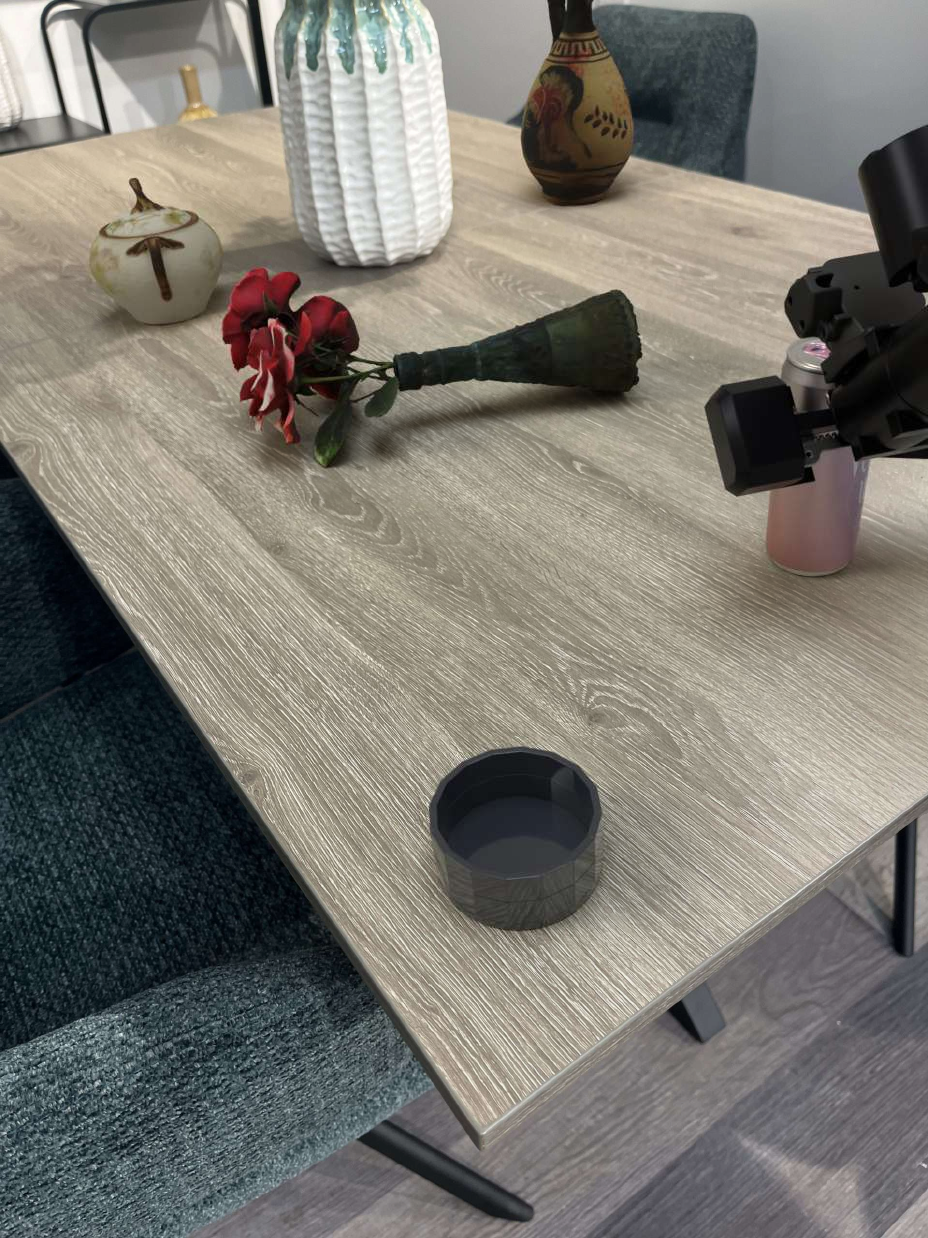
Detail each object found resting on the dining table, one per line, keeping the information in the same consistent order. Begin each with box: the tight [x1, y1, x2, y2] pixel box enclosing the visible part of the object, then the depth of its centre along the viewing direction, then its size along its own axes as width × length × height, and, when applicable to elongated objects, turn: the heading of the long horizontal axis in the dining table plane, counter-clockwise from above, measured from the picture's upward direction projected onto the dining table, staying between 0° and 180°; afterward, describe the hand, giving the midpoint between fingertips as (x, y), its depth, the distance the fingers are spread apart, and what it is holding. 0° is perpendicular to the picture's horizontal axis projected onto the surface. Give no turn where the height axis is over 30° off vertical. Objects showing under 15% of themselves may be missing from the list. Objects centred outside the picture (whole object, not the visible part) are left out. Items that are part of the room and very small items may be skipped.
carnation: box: [221, 267, 644, 468], centre depth 90 cm, size 16×18×35 cm
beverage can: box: [764, 337, 871, 577], centre depth 66 cm, size 6×6×15 cm
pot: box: [428, 745, 604, 931], centre depth 51 cm, size 8×8×4 cm
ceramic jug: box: [520, 0, 635, 206], centre depth 134 cm, size 17×15×30 cm
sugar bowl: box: [88, 177, 224, 325], centre depth 115 cm, size 20×15×15 cm
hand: (809, 456), depth 67 cm, fingers closed on beverage can, 6 cm apart
